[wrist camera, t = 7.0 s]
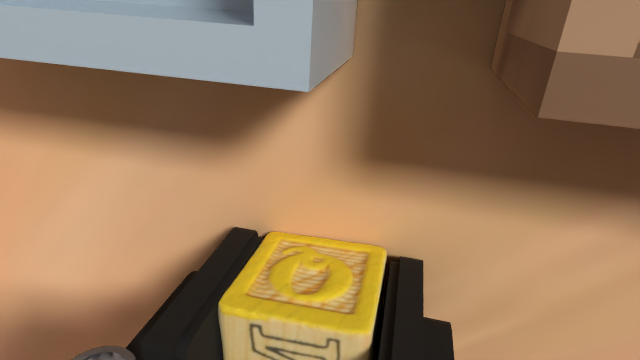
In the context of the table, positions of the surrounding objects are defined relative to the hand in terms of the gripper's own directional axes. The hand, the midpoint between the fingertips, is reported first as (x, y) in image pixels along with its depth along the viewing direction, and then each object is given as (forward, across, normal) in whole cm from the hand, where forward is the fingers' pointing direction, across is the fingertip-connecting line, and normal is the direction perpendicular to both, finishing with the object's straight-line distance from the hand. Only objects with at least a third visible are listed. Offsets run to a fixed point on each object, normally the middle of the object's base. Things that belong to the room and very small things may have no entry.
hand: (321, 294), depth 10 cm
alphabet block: (+1, 0, 0) cm, 1 cm away
